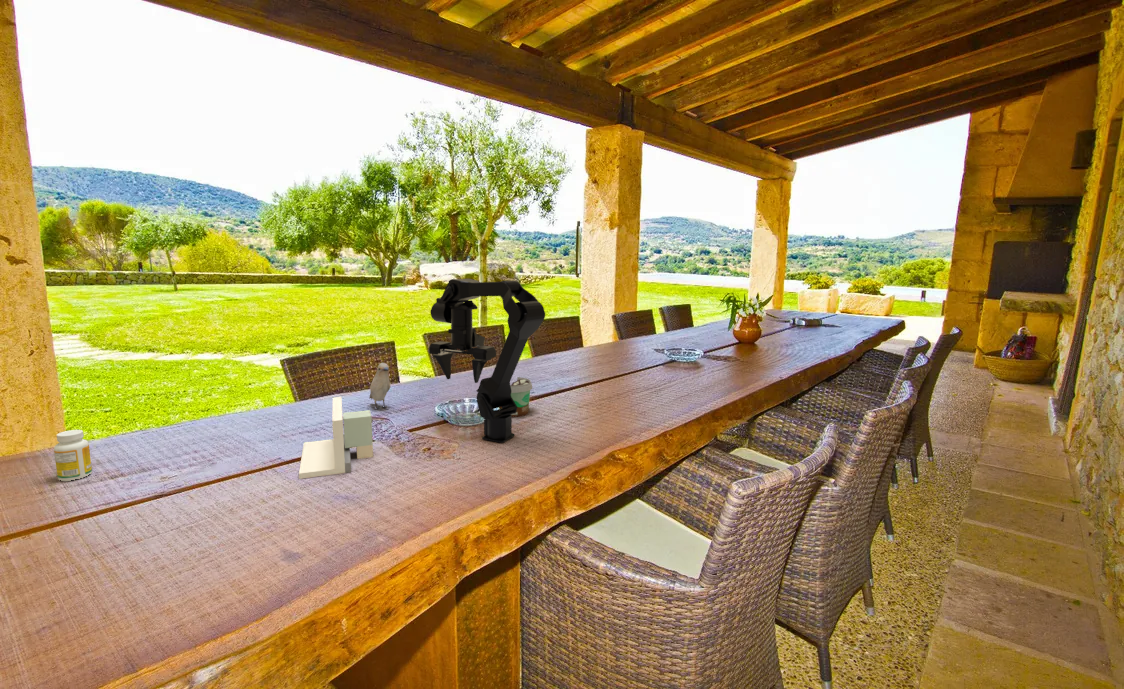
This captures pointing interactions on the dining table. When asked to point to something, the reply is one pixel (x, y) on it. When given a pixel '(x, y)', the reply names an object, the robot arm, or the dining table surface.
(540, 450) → the dining table surface
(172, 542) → the dining table surface
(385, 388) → the bird
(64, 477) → the supplement bottle
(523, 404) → the food container
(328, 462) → the cream l-shaped piece
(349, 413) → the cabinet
